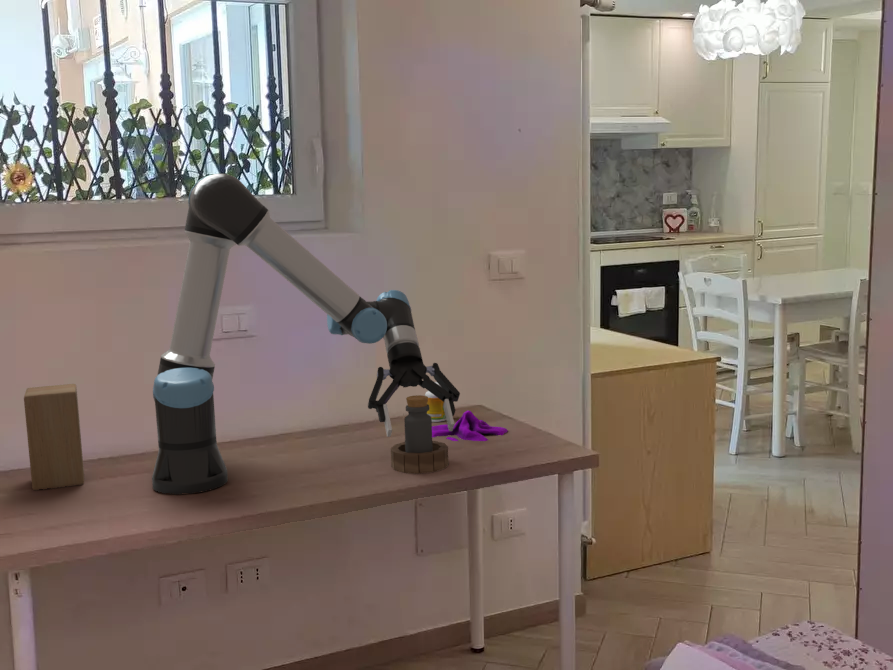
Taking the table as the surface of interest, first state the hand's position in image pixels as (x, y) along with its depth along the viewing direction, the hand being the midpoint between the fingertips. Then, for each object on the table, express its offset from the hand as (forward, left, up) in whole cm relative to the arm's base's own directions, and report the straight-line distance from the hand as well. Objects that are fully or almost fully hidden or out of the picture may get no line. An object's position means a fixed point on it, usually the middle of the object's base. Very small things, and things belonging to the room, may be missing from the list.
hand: (421, 430), depth 205 cm
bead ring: (0, +2, -8) cm, 9 cm away
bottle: (0, +2, -8) cm, 9 cm away
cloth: (+18, +25, -9) cm, 32 cm away
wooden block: (-75, +18, -8) cm, 78 cm away
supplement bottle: (+14, +42, -8) cm, 45 cm away
